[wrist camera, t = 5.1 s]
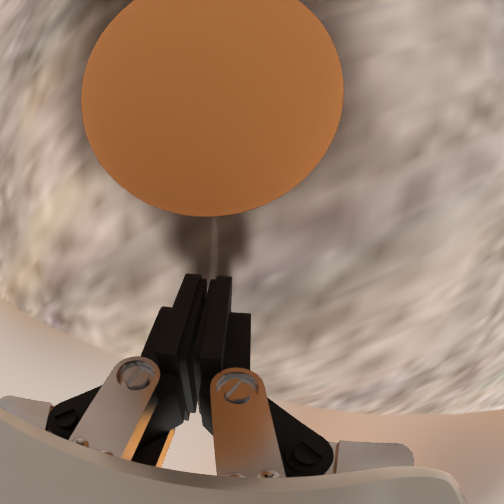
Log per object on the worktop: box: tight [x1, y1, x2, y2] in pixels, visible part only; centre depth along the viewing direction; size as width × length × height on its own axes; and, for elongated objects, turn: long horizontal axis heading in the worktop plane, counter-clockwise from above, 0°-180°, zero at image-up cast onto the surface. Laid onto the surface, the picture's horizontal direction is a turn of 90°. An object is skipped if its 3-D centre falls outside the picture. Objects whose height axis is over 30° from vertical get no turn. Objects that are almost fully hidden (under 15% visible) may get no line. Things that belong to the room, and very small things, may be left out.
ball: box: [81, 0, 344, 216], centre depth 6 cm, size 6×6×6 cm
